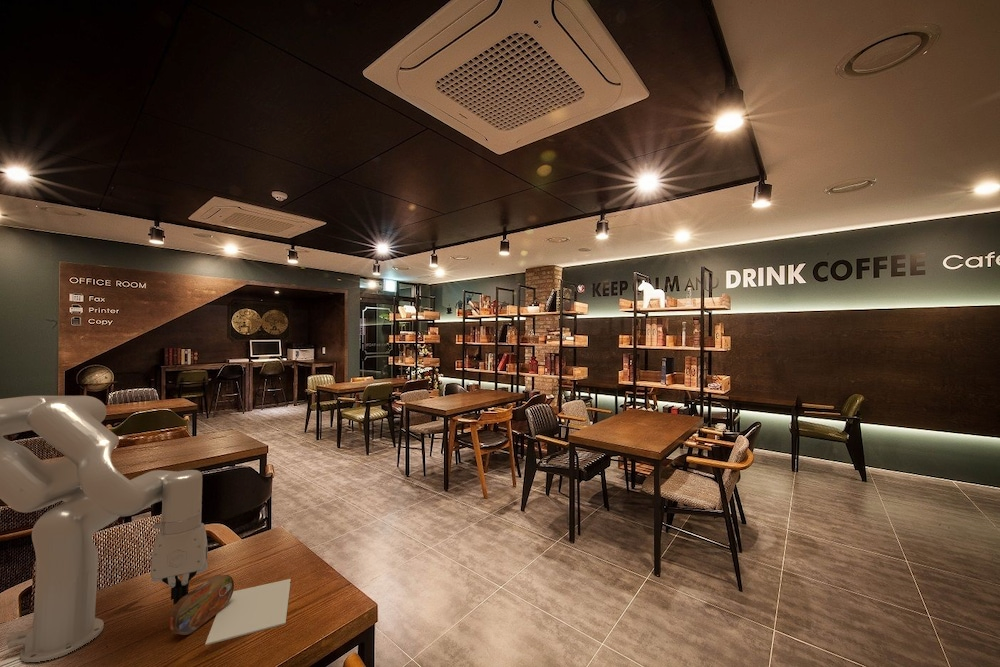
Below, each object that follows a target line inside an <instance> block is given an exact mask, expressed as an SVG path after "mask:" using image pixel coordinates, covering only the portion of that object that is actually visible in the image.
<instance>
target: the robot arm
mask: <svg viewBox="0 0 1000 667" xmlns="http://www.w3.org/2000/svg"><path fill="white" fill-rule="evenodd" d="M107 414H108V413H107V407H106V405H105V404H104V402H103V401H102V400H100V399H98V398H96V397H94V396H89V395H25V396H16V397H8V398H0V500H1V501H2V502H4V503H5V504H6V505H7V506H8V507H10V508H11V509H12V510H14V511H15V512H19V513H32V512H35V511H36V512H37V511H40V510H42V509H44V508H47V507H49V506H52V505H54V504H57V503H59V502H61V501H62V502H63V503H61V504H59V505H56V506H54V507H53V508H50V509H49V510H48V511H47V512H45V513H44V514H43V515H42V516H40V517H39V519H37V521H36V522H35V523H34V525H33V528H32V531H31V541H32V544H33V548H34V552H35V565H36V566H35V568H36V569H35V591H34V605H33V608H34V609H33V622H32V627H30V629H26V630H19V631H15V632H11V633H10V634H9V635H8V637H7V640H6V643H7V648H8V649H12V648H15V647H18V646H22V647H23V648H22V649H21V650H20V654H19V655H20V657H19V659H20V658H21V659H20V661H21V660H22V661H25V662H39V663H41V662H40V661H45V662H47V661H46V660H49V661H52V660H55V659H59V658H61V657H63V656H66V655H69V654H71V653H73V652H75V651H77V650H78V649H77V648H79V647H81V646H83V645H84V644H86V643H88V642H89V643H91V642H92V641H94V640H95V639H96V638H97V637H98V636H99V635H100V634H101V633H102V632H103V629H104V625H105V624H104V620H103V619H101V618H98V617H96V603H97V601H96V600H97V585H98V584H97V582H98V568H99V567H98V566H99V553H98V549H97V546H96V545H95V542H94V541H93V534H95V533H97V532H98V531H100V530H101V529H104V528H105V527H107V526H108V525H110V524H112V523H114V522H115V521H116V520H118V519H119V518H120V517H129V516H133V515H135V514H138V513H140V512H142V511H143V510H146V509H147V508H148V507H150V506H153V505H154V504H156V503H159V502H161V503H162V505H161V520H160V521H158V522H154V524H153V529H154V530H157V529H159V532H158V533H157V534H156V536H155V540H154V543H153V550H152V555H151V563H150V565H151V566H150V577H151V579H150V581H151V582H153V583H154V582H159V583H161V582H163V583H164V584H165V585H168V588H170V600H172V601H173V604H172V605H176V603H177V602H178V601H179V600H180V599H181V598H182V597H183V596H185V595H186V594H188V593H189V588H190V587H189V585H190V583H189V582H190V581H191V580H192V579H193V578H194V577H195V576H196V575H199V574H202V573H204V572H206V571H207V569H208V567H209V565H208V562H207V560H208V556H209V555H208V551H209V550H208V549H209V548H208V539H207V538H208V537H207V531H206V526H205V523H203V522H202V508H203V504H202V502H203V474H202V472H201V471H200V470H197V469H186V470H179V471H174V470H163V469H157V470H156V469H155V470H150V471H148V472H145V473H143V474H142V475H138V476H136V477H133V478H132V479H129V478H127V477H126V476H125V475H124V474H122V472H120V471H119V470H118V469H117V468H116V467H115V465H114V464H113V461H112V453H113V450H115V448H116V447H117V446H118V445H119V441H120V439H119V436H118V435H116V433H114V432H113V431H111V430H110V429H109V428H108V427H107V426H105V425H104V424H103V423H102V422H103V421H104V420H105V418H106V416H107ZM27 431H28V432H29V431H32V432H34V433H36V435H38V436H39V437H40V438H42V439H43V440H44V441H45V442H47V443H48V445H50V446H52V447H53V448H55V450H57V451H58V452H59V453H61V454H62V455H64V457H66V458H67V459H66V458H65V459H60V460H56V461H53V462H50V463H48V462H45V461H44V460H42V459H41V458H39V456H37V455H35V454H34V452H33V451H31V449H29V448H28V447H26V446H24V445H22V444H20V443H17V442H15V441H11V440H9V439H7V438H5V437H4V436H8V435H13V434H18V433H22V432H27ZM181 575H182V579H180V576H181ZM94 638H95V639H94ZM93 639H94V640H93ZM91 640H92V641H91ZM90 641H91V642H90ZM89 643H88V644H89ZM86 645H87V644H86ZM83 647H84V646H83ZM81 648H82V647H81ZM76 649H77V650H76ZM79 649H80V648H79ZM74 650H75V651H74ZM72 651H73V652H72ZM70 652H71V653H70ZM68 653H69V654H68ZM58 657H59V658H58ZM54 658H55V659H54ZM51 659H52V660H51ZM22 661H21V662H22ZM25 662H24V663H25Z"/></svg>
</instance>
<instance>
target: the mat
mask: <svg viewBox="0 0 1000 667" xmlns="http://www.w3.org/2000/svg"><path fill="white" fill-rule="evenodd" d="M291 581H292V579H291V578H287V579H283V580H279V581H273V582H269V583H265V584H261V585H256V586H252V587H247V588H242V589H238V590H233V594H232V596H231V599H230V600H229V602H228V604H227V605H226V606H225V607H224V608H223V609H222V610H221V611H220V612H218V613H217V614H216V615H215V617H214V619H213V623H212V626H211V628H210V630H209V633H208V635H207V638H206V641H205V646H208V645H212V644H216V643H219V642H224V641H227V640H231V639H232V640H233V639H235V638H238V637H239V638H240V637H242V636H247V635H250V634H254V633H258V632H261V631H265V630H269V629H273V628H276V627H280V626H283V625H286V623H287V616H288V615H287V614H288V607H289V601H290V597H289V596H290V591H291V590H290V589H291V583H290V582H291Z"/></svg>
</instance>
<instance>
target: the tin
mask: <svg viewBox="0 0 1000 667" xmlns="http://www.w3.org/2000/svg"><path fill="white" fill-rule="evenodd" d="M234 588H235V582H234V579H233V577H232V576H231V575H229V574H217V575H215V576H211V577H210V578H209V579H207V580H206V581H204V582H202V583H201V584H200V585H199V586H197V587H196V588H194V589H193V590H191V591H188V594H186V595H185V596H183V597H182V598H181V599H180V600H179V601H178V602H177V603H176V604H174V605H173V608H172V610H171V611H170V615H169V616H168V617H169V619H168V620H169V621H168V625H169V629H170V632H171V633H173V634H176V635H181V636H186V635H187V636H188V635H190V634H192V633H194V632H195V631H196V630H198V629H199V628H200V627H202V626H203V625H204V624H205V623H207V622H208V621H209V620H211V619H212V618H214V616H216V615H217V613H218V612H220V611H221V610H222V609H223V608H224V607H225V606H226V605H227V604H228V602H229V600H230V599H231V596H232V594H233V591H235V590H234Z"/></svg>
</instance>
